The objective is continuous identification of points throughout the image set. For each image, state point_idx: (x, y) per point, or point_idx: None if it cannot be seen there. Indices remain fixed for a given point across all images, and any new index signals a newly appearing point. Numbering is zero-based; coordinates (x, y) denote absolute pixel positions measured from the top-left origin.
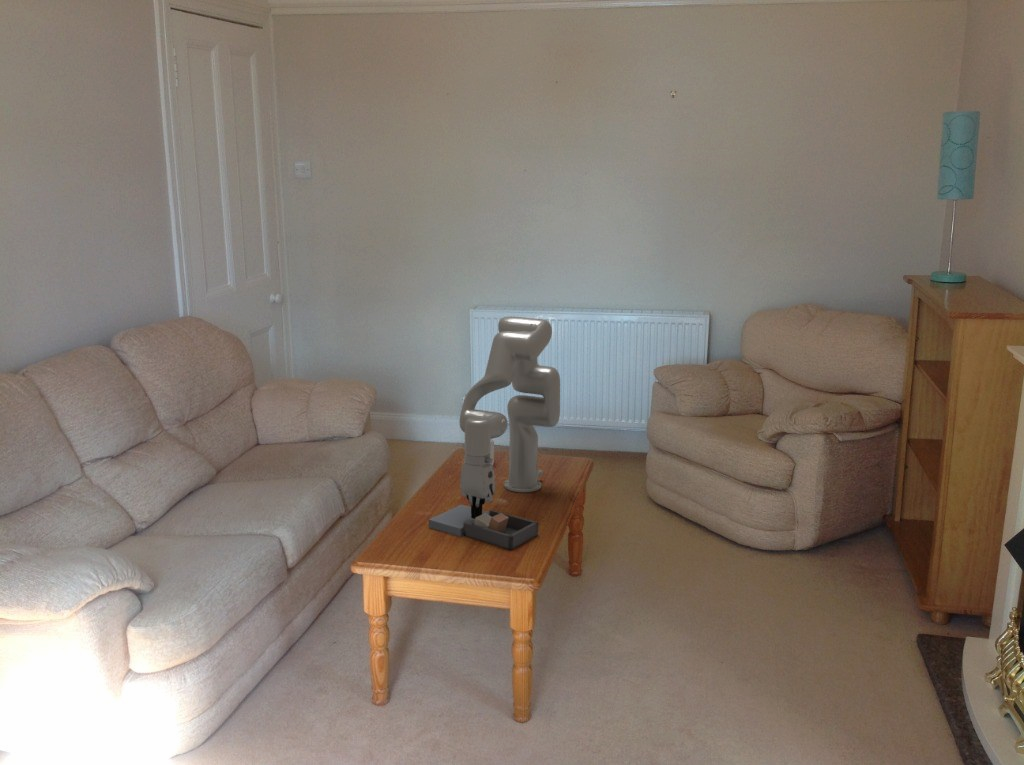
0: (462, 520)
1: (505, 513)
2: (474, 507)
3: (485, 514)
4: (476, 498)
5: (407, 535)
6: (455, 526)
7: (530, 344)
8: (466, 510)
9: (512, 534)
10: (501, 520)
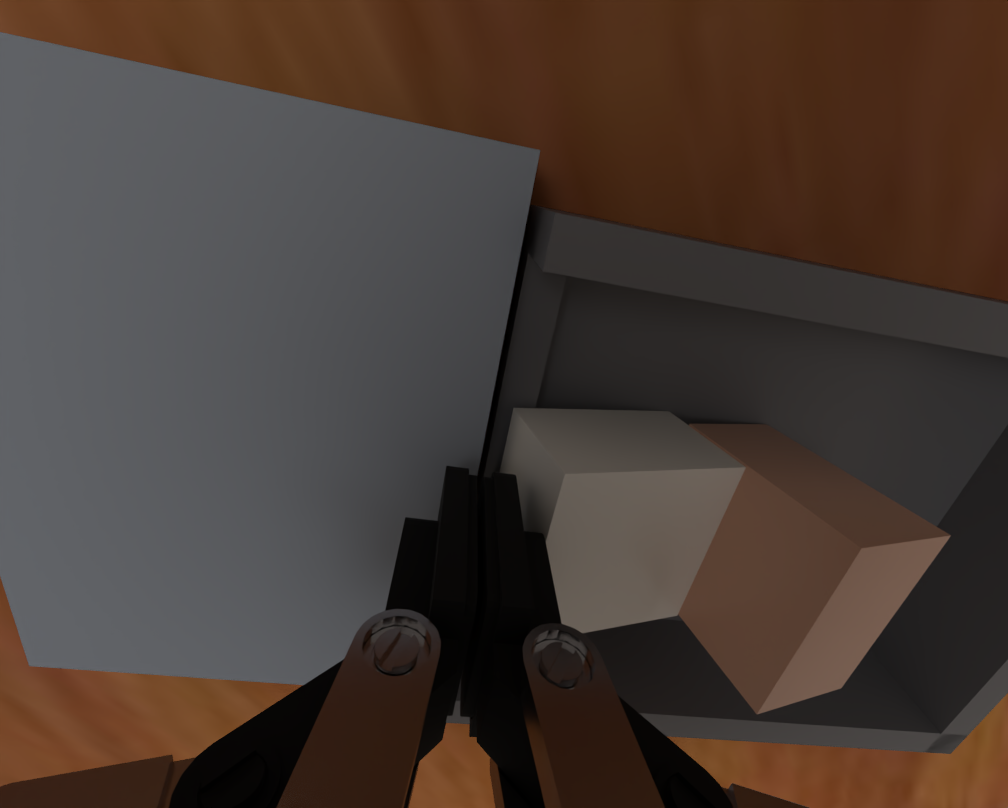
0: (330, 550)
1: (827, 270)
2: (474, 723)
3: (580, 503)
4: (415, 744)
5: (101, 747)
6: None
7: None
8: (134, 243)
9: (960, 720)
10: (864, 645)
